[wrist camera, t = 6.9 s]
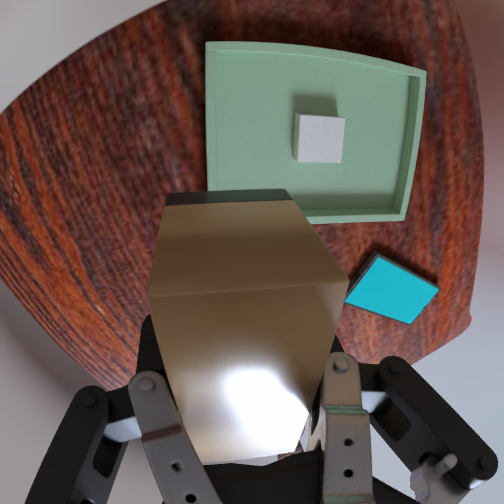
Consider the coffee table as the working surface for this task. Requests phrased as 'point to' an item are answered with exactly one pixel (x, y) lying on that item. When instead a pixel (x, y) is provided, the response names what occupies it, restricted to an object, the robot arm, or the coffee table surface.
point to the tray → (315, 102)
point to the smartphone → (390, 290)
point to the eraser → (243, 318)
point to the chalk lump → (318, 137)
